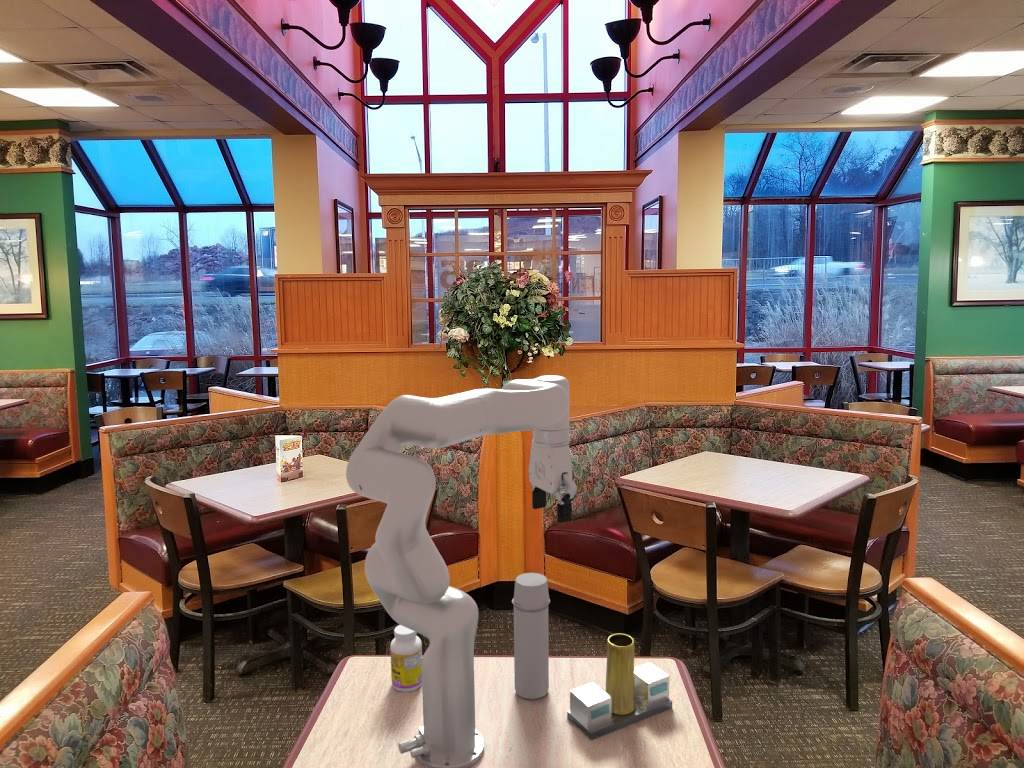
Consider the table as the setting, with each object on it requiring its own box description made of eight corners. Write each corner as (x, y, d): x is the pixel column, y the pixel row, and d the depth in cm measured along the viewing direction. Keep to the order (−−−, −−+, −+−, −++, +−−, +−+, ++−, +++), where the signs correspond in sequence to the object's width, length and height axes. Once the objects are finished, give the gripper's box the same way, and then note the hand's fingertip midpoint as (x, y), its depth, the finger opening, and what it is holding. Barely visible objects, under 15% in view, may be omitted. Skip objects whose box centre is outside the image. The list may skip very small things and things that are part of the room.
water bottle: (551, 701, 150) (551, 587, 146) (513, 702, 150) (511, 587, 146) (549, 676, 159) (548, 568, 155) (513, 676, 159) (511, 568, 155)
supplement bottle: (388, 680, 158) (385, 625, 156) (417, 672, 161) (415, 618, 159) (396, 696, 152) (394, 639, 150) (427, 688, 155) (425, 632, 153)
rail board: (590, 740, 138) (591, 708, 137) (567, 717, 145) (567, 687, 144) (672, 707, 147) (672, 678, 146) (646, 688, 154) (646, 659, 153)
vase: (634, 697, 148) (635, 632, 146) (636, 716, 142) (637, 648, 140) (604, 696, 149) (605, 631, 147) (604, 714, 143) (605, 647, 141)
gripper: (514, 429, 157) (515, 506, 160) (558, 447, 142) (558, 530, 145) (544, 425, 161) (544, 500, 164) (590, 441, 146) (589, 523, 149)
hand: (551, 514), depth 154 cm, fingers open, 9 cm apart
